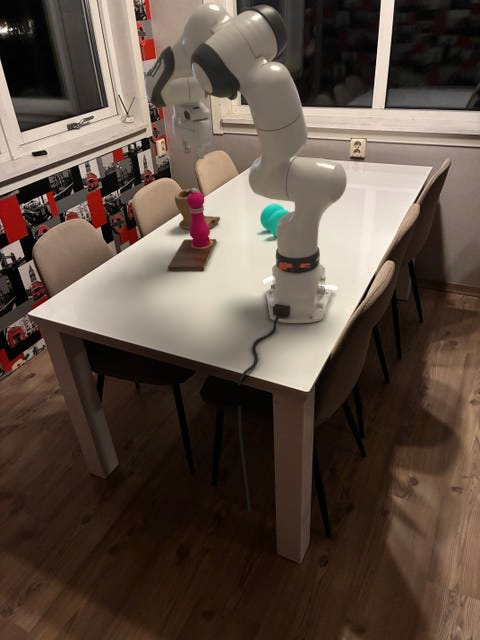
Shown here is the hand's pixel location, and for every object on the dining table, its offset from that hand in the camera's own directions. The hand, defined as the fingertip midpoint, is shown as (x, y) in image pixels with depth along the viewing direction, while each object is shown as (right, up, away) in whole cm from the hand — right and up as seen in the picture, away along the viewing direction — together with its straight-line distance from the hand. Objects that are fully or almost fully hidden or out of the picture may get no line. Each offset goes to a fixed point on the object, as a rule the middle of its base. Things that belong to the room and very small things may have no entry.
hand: (194, 155), depth 158 cm
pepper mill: (+1, -26, +16) cm, 31 cm away
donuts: (+29, -21, +23) cm, 42 cm away
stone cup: (-2, -17, +34) cm, 38 cm away
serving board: (-1, -31, +12) cm, 33 cm away
